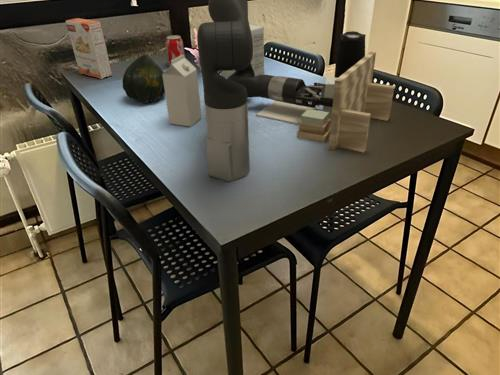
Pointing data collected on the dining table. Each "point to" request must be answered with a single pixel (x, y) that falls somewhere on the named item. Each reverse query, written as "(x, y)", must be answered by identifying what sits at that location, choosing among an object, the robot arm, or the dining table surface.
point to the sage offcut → (314, 117)
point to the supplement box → (254, 51)
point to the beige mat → (284, 112)
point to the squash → (143, 80)
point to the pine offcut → (314, 136)
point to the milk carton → (182, 92)
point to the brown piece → (358, 105)
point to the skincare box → (329, 93)
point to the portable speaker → (349, 51)
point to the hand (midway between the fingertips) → (338, 98)
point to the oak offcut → (315, 128)
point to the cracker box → (89, 47)
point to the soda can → (174, 47)
